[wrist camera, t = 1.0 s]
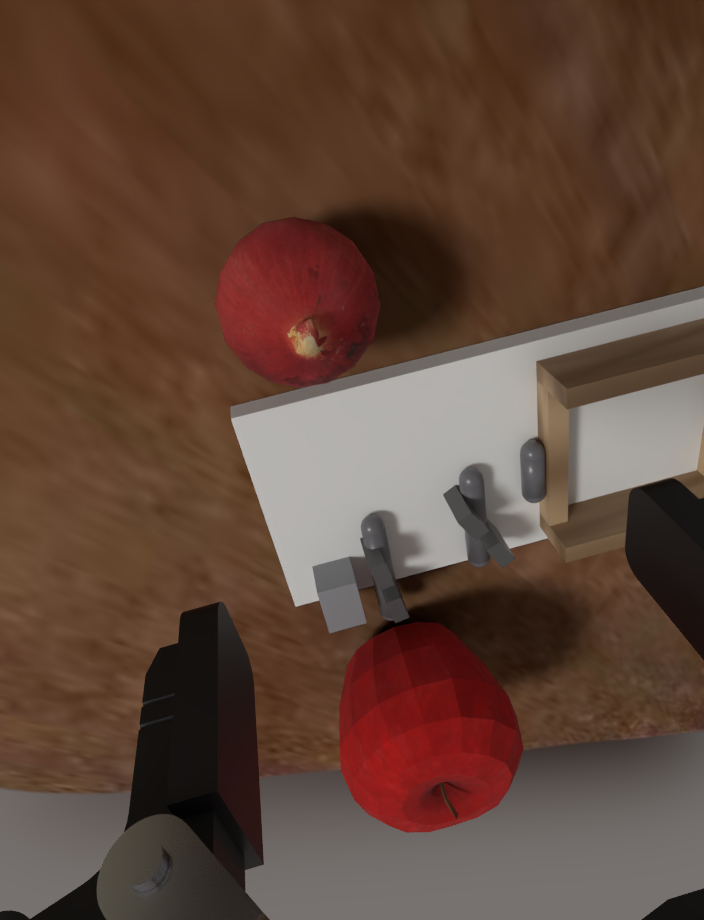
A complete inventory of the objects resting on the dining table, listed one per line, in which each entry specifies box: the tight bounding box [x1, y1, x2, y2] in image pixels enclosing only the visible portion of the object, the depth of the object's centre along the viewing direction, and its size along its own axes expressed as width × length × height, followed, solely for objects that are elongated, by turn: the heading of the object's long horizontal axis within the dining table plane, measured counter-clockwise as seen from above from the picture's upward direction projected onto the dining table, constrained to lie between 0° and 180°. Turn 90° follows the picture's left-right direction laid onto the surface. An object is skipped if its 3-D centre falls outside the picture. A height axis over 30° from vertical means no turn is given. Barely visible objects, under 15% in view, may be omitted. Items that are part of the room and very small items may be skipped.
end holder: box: [536, 318, 704, 563], centre depth 30 cm, size 10×10×3 cm
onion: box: [215, 217, 381, 387], centre depth 22 cm, size 6×6×8 cm
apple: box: [340, 622, 523, 832], centre depth 34 cm, size 10×10×11 cm
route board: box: [231, 286, 704, 633], centre depth 31 cm, size 14×24×4 cm, turn 101°
